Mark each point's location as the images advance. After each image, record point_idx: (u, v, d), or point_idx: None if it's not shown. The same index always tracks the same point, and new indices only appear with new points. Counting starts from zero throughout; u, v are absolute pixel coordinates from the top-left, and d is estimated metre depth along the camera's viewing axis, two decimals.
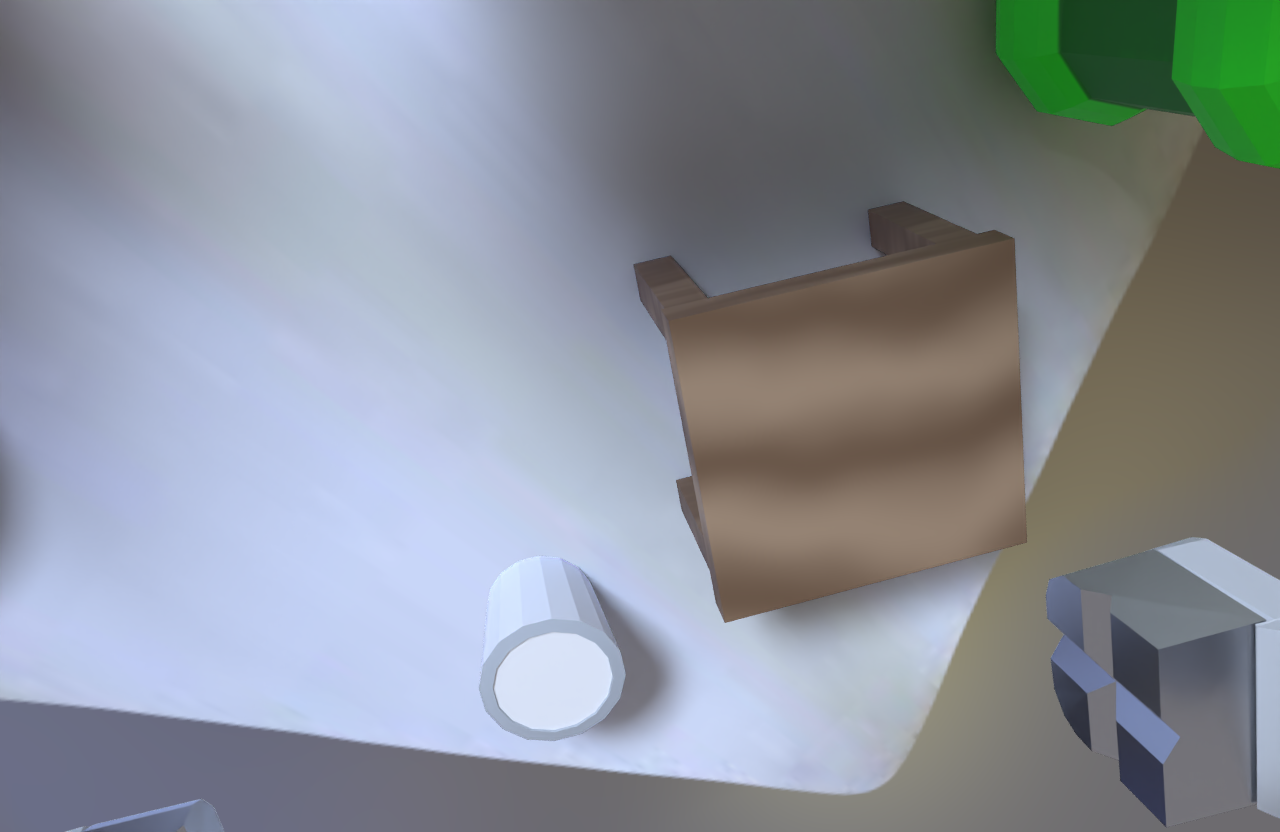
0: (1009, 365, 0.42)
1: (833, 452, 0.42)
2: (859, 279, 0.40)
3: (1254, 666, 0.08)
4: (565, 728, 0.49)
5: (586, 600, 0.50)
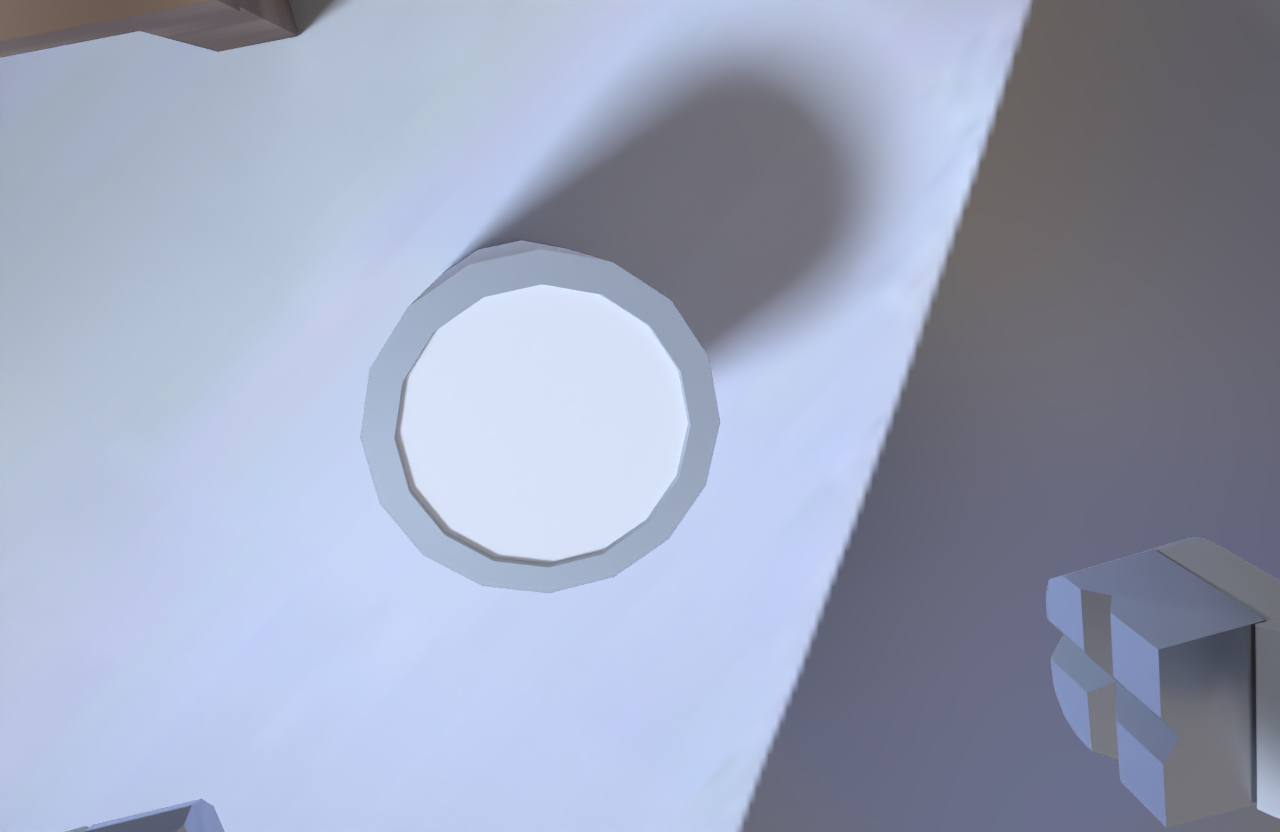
0: None
1: None
2: None
3: (1254, 666, 0.08)
4: (685, 398, 0.20)
5: None
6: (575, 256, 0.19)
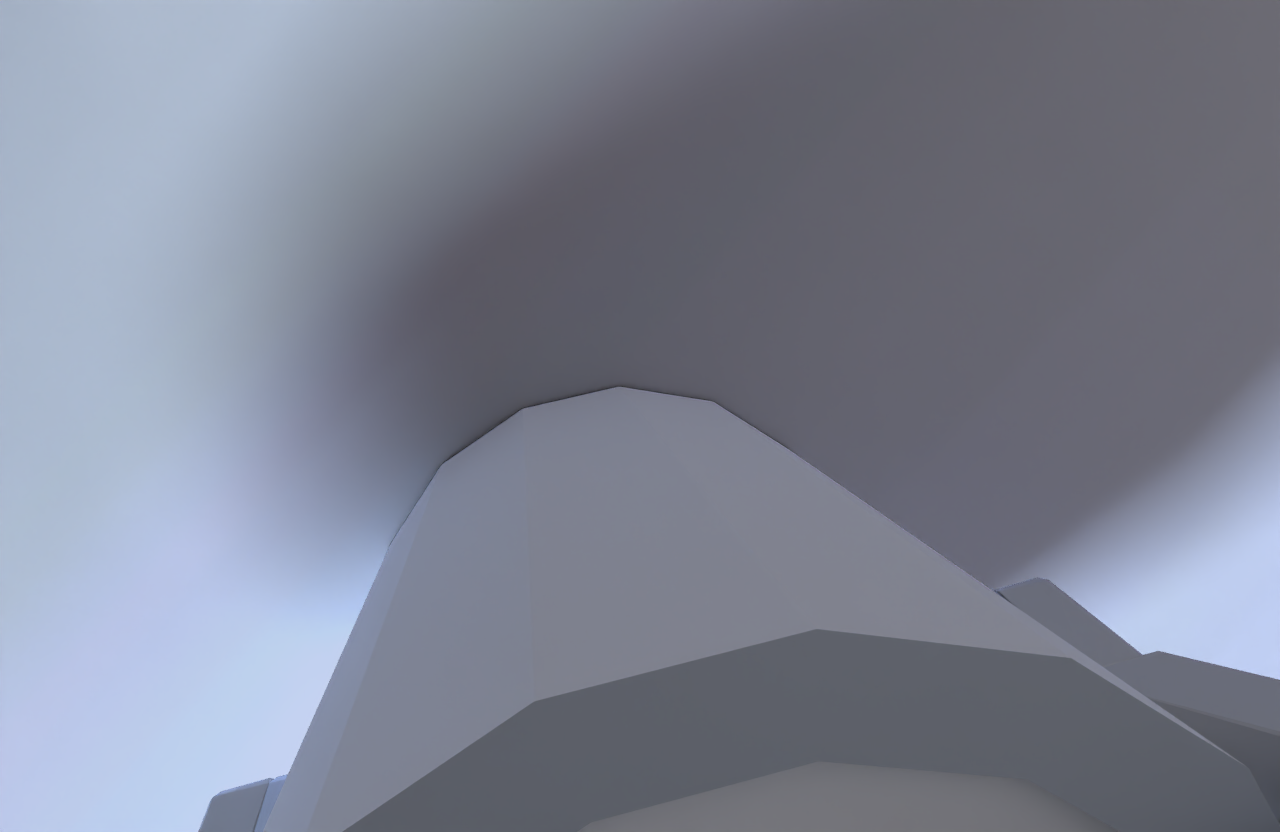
0: None
1: None
2: None
3: None
4: None
5: (359, 658, 0.07)
6: (938, 646, 0.05)
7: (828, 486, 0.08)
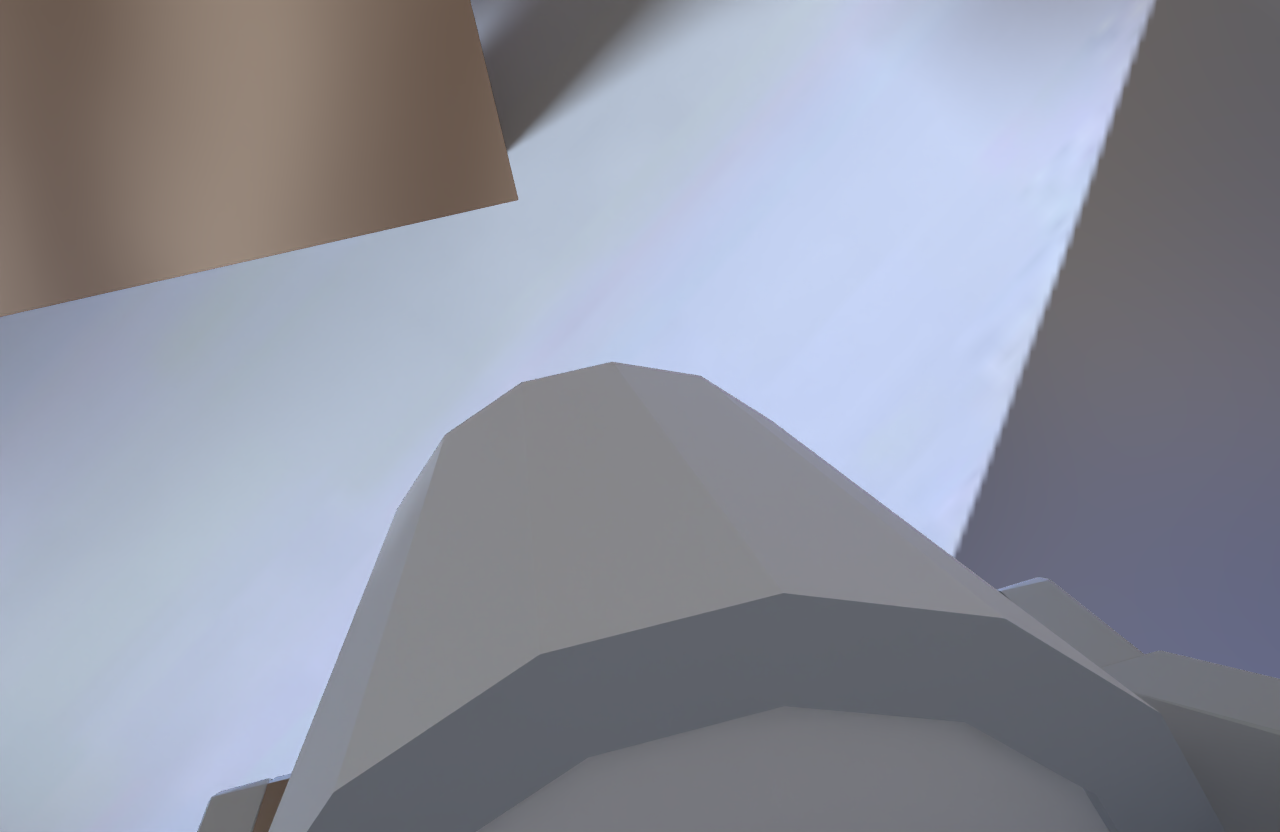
0: None
1: None
2: None
3: None
4: None
5: (375, 615, 0.08)
6: (889, 608, 0.06)
7: (804, 461, 0.09)
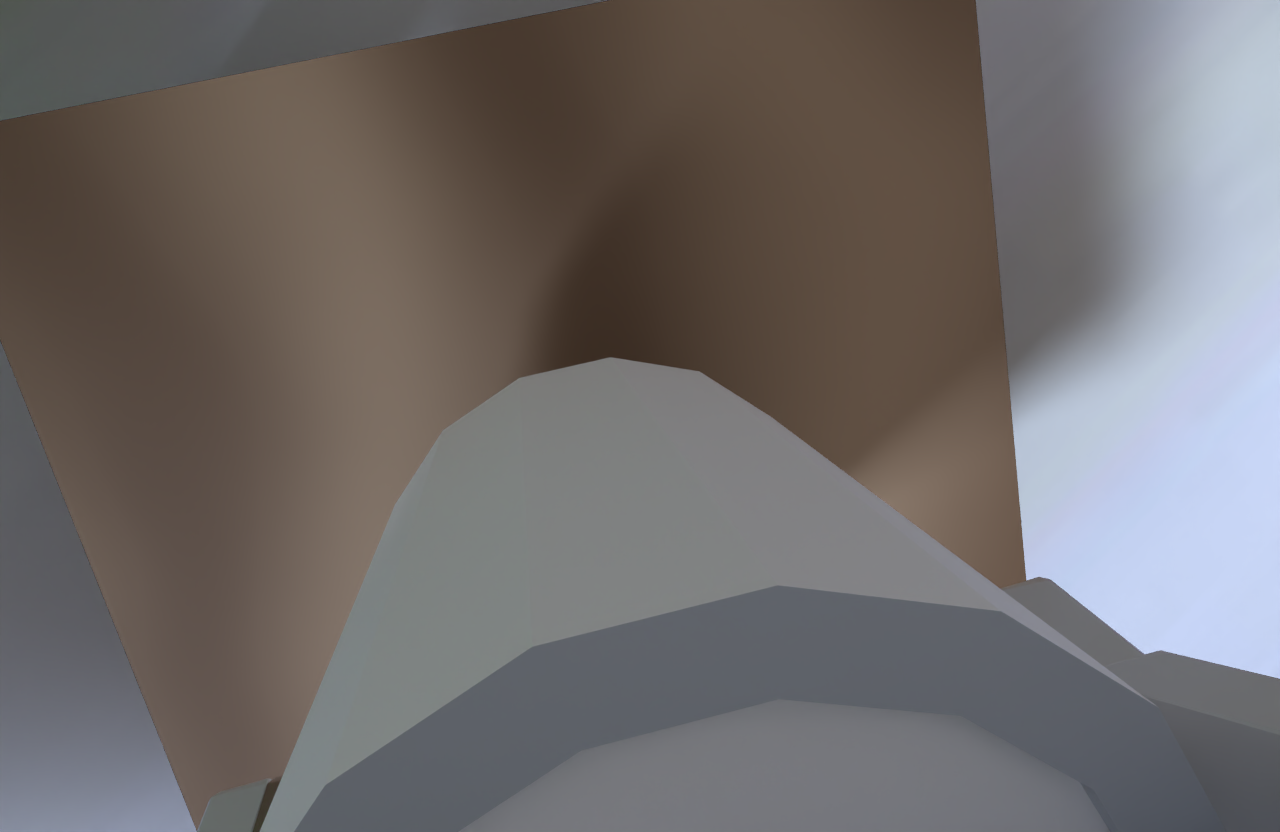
0: (350, 88, 0.13)
1: None
2: (111, 584, 0.15)
3: None
4: None
5: (370, 609, 0.08)
6: (885, 600, 0.06)
7: (802, 455, 0.09)
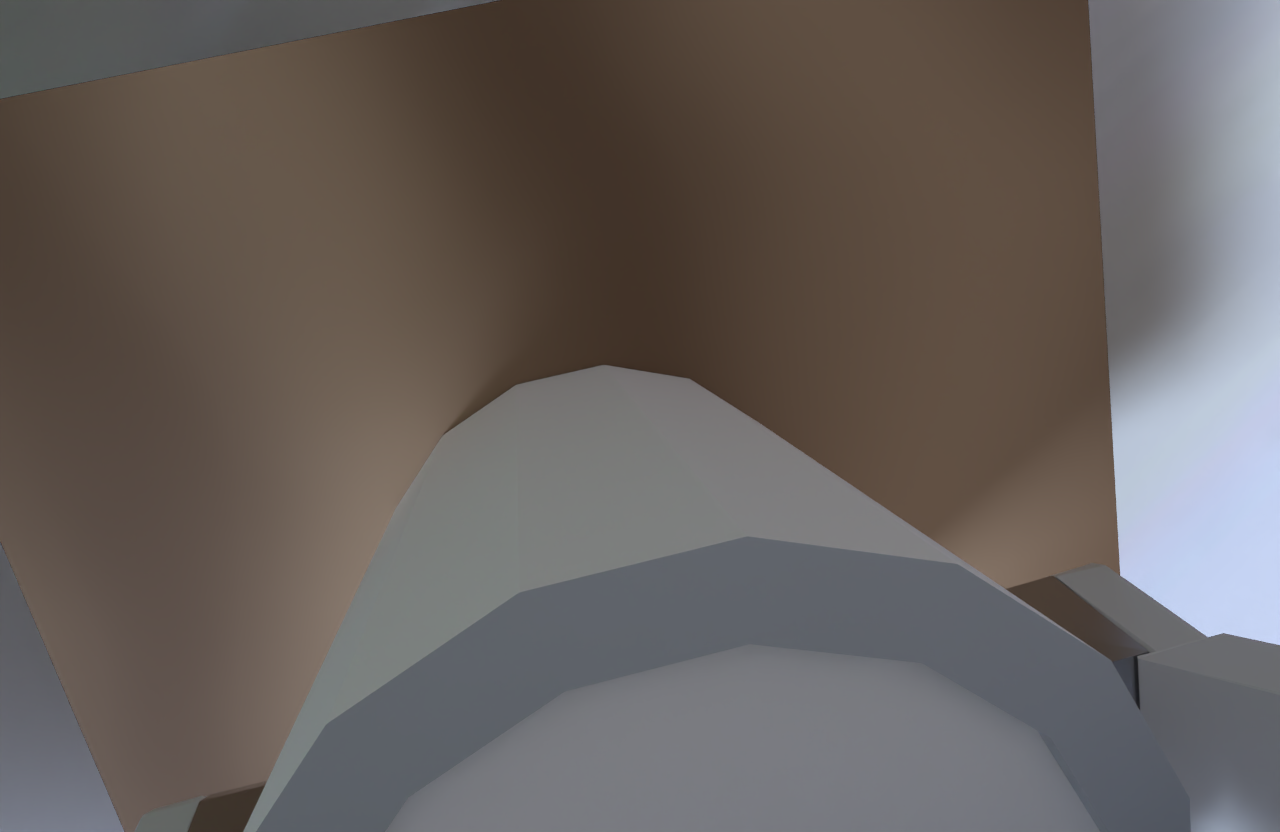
0: (344, 75, 0.11)
1: None
2: (66, 657, 0.13)
3: (1138, 698, 0.08)
4: None
5: (371, 590, 0.09)
6: (848, 552, 0.06)
7: (782, 444, 0.09)
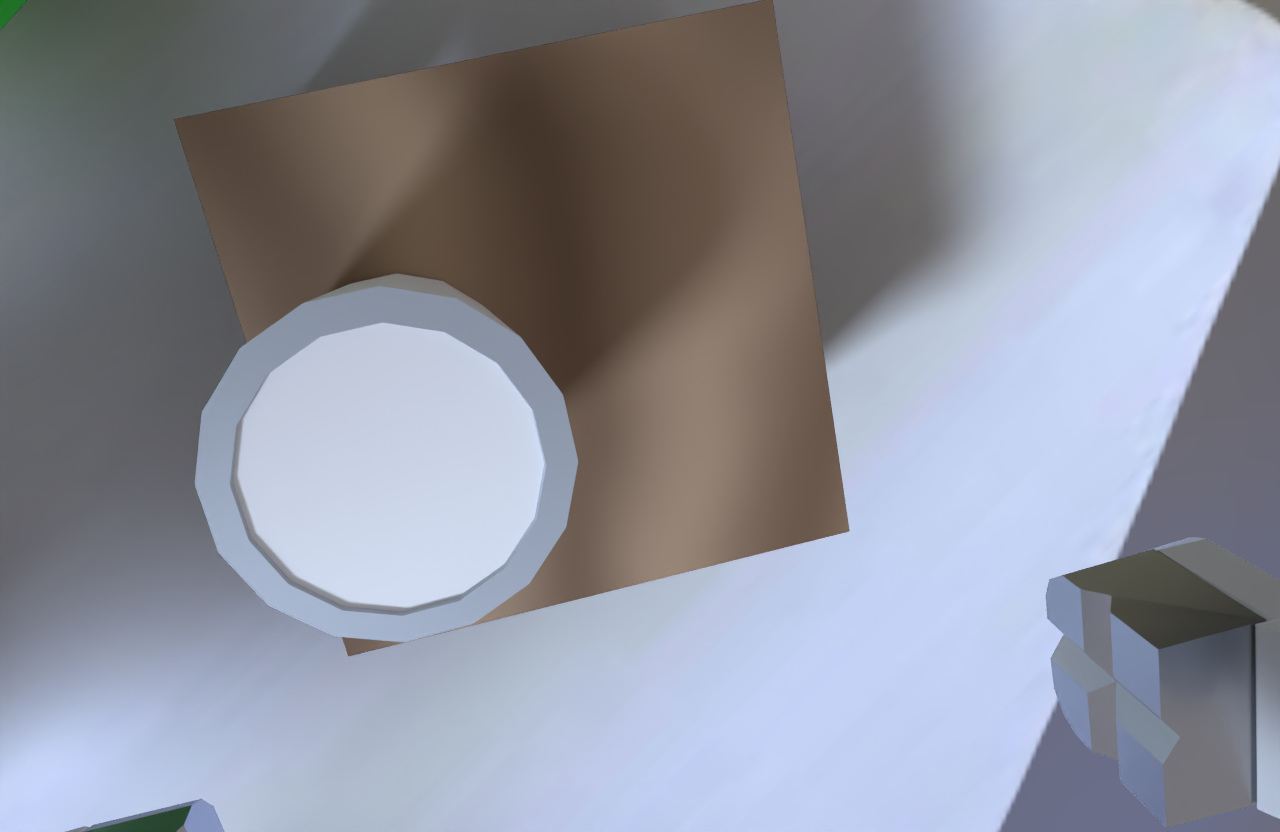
0: (412, 92, 0.24)
1: (566, 392, 0.26)
2: None
3: (1253, 666, 0.08)
4: (540, 437, 0.19)
5: None
6: (416, 293, 0.18)
7: (447, 288, 0.21)
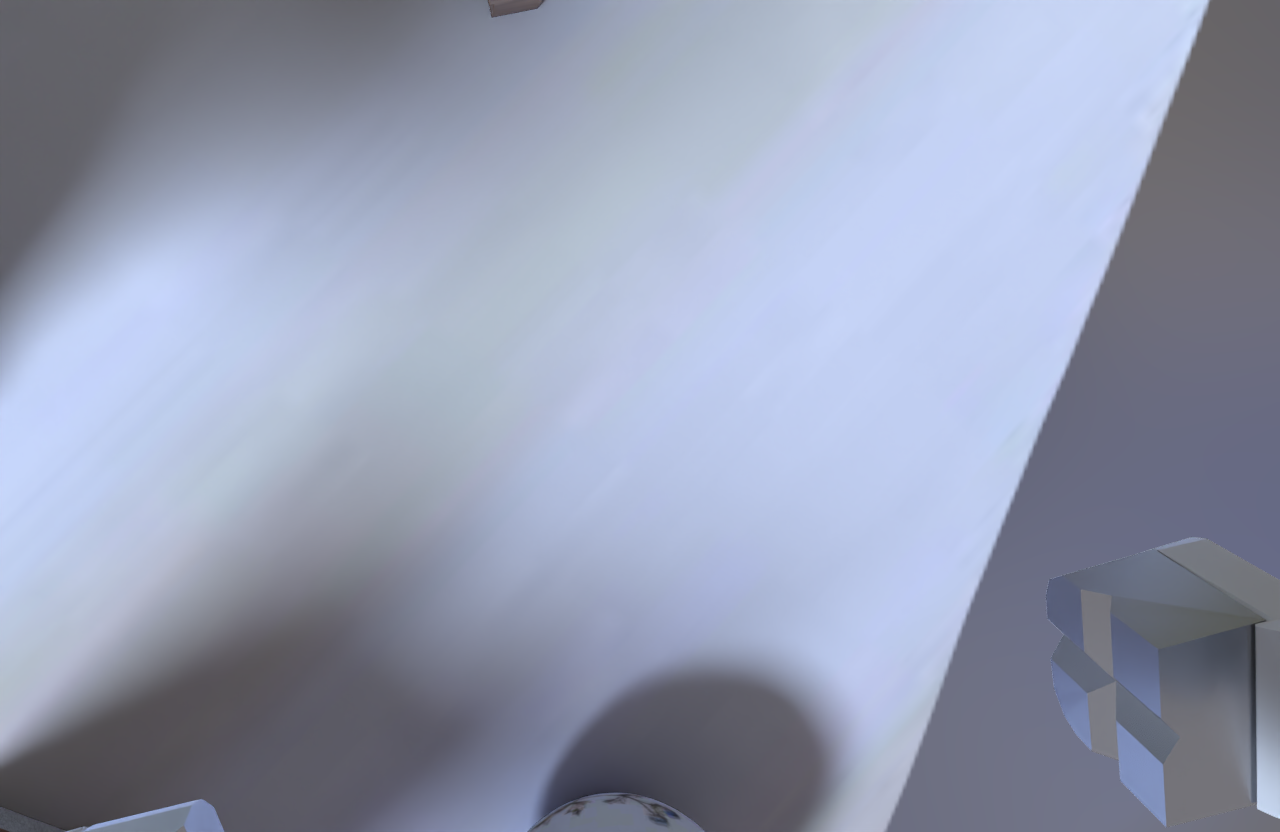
0: None
1: None
2: None
3: (1254, 666, 0.08)
4: None
5: None
6: None
7: None
